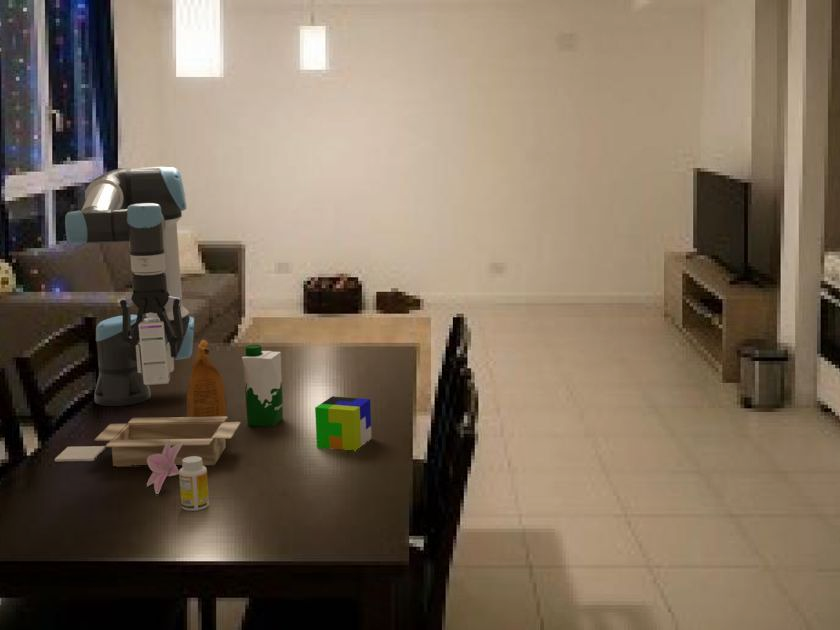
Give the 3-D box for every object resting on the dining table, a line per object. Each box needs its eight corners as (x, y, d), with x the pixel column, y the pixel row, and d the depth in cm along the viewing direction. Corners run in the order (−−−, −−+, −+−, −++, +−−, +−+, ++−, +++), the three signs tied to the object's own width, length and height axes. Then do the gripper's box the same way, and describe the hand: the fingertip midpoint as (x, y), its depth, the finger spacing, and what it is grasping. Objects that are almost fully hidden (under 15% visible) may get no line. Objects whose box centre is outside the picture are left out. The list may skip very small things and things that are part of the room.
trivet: (68, 449, 255) (67, 446, 255) (105, 448, 255) (105, 446, 255) (54, 461, 247) (54, 459, 246) (93, 460, 246) (93, 458, 246)
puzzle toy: (371, 438, 258) (370, 399, 256) (355, 451, 249) (354, 410, 247) (333, 435, 262) (332, 396, 260) (316, 448, 252) (315, 407, 250)
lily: (151, 480, 236) (130, 450, 231) (199, 457, 237) (180, 426, 231) (155, 514, 226) (133, 483, 221) (205, 490, 227) (185, 459, 221)
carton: (118, 442, 259) (116, 418, 258) (245, 441, 259) (244, 416, 257) (90, 472, 238) (87, 446, 237) (228, 470, 238) (226, 443, 236)
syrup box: (169, 383, 243) (164, 321, 240) (142, 385, 242) (138, 323, 239) (170, 377, 249) (166, 316, 246) (144, 378, 248) (140, 318, 245)
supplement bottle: (209, 500, 220) (206, 453, 218) (209, 510, 215) (206, 462, 213) (181, 503, 219) (178, 455, 217) (180, 513, 214) (177, 464, 212)
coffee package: (228, 419, 277) (223, 337, 272) (227, 433, 265) (222, 347, 260) (189, 422, 275) (183, 339, 271) (187, 436, 263) (181, 350, 259)
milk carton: (254, 416, 279) (250, 342, 275) (287, 417, 277) (284, 343, 273) (242, 426, 270) (238, 350, 266) (276, 428, 268) (272, 351, 264)
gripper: (101, 276, 237) (109, 376, 241) (187, 274, 236) (194, 374, 241) (111, 270, 244) (118, 367, 249) (194, 268, 244) (201, 366, 249)
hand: (156, 370), depth 245 cm, fingers closed on syrup box, 6 cm apart
